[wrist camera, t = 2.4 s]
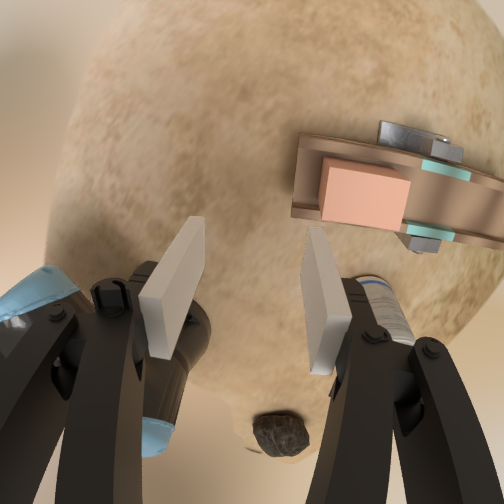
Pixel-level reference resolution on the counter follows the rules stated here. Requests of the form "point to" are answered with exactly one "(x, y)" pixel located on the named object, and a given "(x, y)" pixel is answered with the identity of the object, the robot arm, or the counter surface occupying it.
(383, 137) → the stand
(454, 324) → the counter surface
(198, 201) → the counter surface
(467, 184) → the beam
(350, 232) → the counter surface
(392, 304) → the supplement tub
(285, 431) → the rock
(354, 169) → the block
